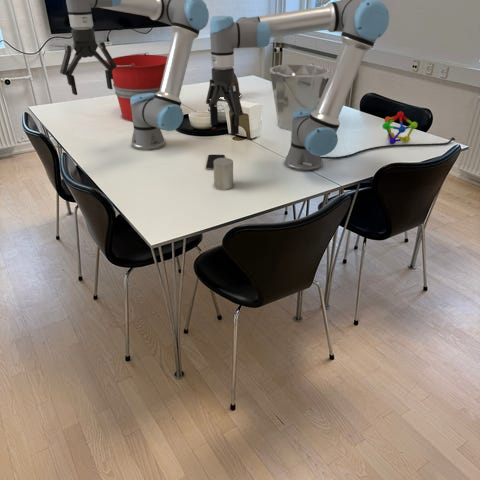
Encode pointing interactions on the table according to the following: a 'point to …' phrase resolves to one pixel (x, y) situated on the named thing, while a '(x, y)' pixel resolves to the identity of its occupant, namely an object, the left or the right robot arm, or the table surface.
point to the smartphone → (212, 160)
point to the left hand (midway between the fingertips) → (92, 91)
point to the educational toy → (398, 128)
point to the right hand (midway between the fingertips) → (224, 129)
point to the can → (223, 173)
